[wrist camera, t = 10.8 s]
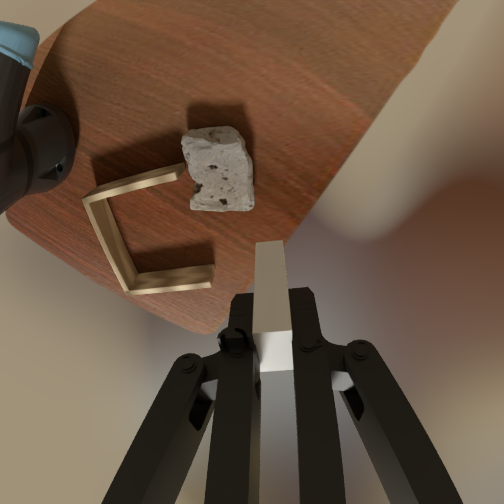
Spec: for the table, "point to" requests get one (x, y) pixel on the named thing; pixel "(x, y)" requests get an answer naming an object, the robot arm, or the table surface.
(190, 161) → the stone
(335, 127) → the table surface
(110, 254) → the bracket
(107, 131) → the table surface
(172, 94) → the table surface
